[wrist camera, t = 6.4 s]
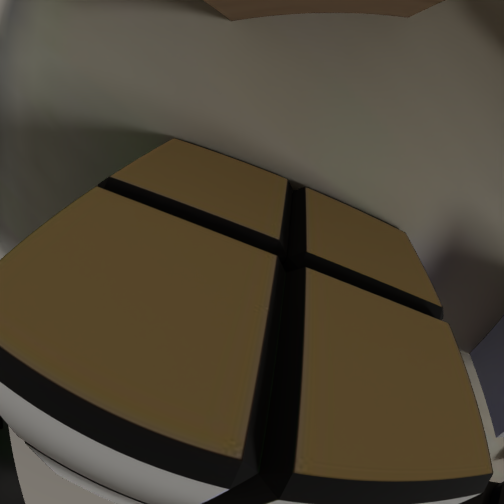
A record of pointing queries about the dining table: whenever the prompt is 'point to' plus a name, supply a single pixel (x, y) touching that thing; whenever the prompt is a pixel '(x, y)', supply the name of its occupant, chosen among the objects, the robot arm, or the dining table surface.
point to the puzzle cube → (233, 346)
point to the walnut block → (317, 7)
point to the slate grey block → (492, 373)
